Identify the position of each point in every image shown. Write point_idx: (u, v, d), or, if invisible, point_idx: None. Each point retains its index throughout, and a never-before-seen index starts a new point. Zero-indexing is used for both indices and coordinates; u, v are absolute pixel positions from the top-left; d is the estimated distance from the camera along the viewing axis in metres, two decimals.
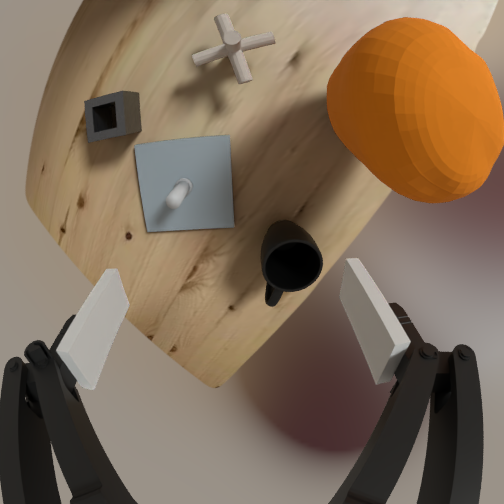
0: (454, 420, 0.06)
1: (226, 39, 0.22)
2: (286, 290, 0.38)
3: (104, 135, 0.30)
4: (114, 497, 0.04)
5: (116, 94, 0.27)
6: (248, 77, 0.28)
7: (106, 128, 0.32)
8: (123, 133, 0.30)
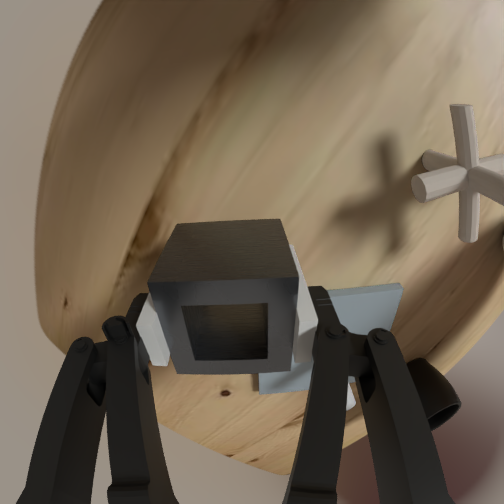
0: (387, 409, 0.07)
1: None
2: None
3: (228, 368, 0.13)
4: (158, 494, 0.05)
5: (274, 284, 0.11)
6: (477, 235, 0.15)
7: (201, 308, 0.16)
8: (283, 369, 0.13)
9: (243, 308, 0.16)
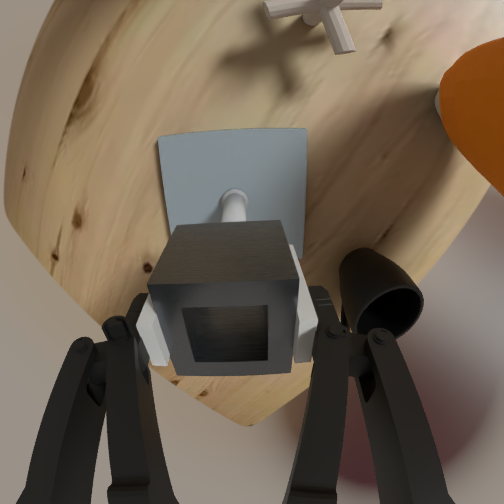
0: (387, 409, 0.07)
1: None
2: None
3: (228, 370, 0.13)
4: (158, 494, 0.05)
5: (274, 286, 0.11)
6: (352, 46, 0.15)
7: (201, 309, 0.16)
8: (284, 370, 0.13)
9: (243, 309, 0.16)
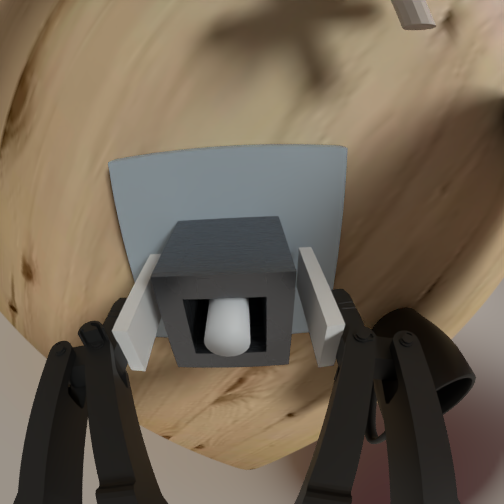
0: (407, 410, 0.07)
1: None
2: None
3: (227, 361, 0.14)
4: (145, 494, 0.05)
5: (272, 278, 0.11)
6: (432, 18, 0.06)
7: (202, 303, 0.16)
8: (282, 362, 0.14)
9: None
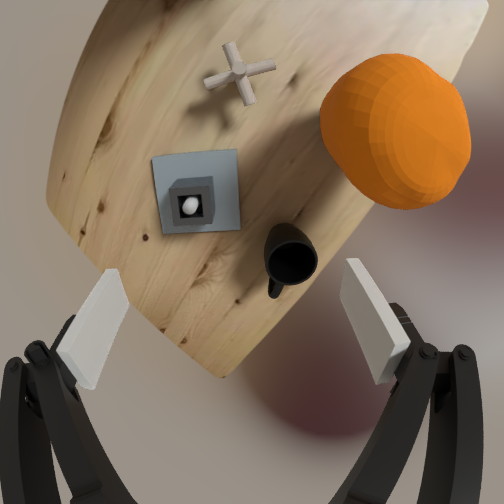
0: (454, 420, 0.06)
1: (234, 69, 0.28)
2: (286, 284, 0.44)
3: (190, 222, 0.41)
4: (114, 497, 0.04)
5: (202, 188, 0.38)
6: (253, 100, 0.34)
7: None
8: (209, 222, 0.41)
9: (199, 208, 0.44)
